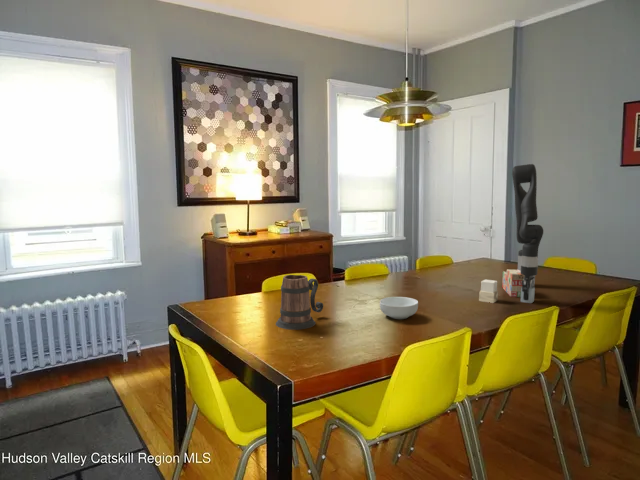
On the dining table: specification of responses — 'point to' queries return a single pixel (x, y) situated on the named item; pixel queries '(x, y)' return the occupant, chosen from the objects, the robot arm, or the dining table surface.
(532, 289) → the slate block
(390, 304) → the cereal bowl
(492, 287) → the tower middle
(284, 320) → the tankard
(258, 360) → the dining table surface
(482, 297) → the tower base
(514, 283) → the printed cardboard box
